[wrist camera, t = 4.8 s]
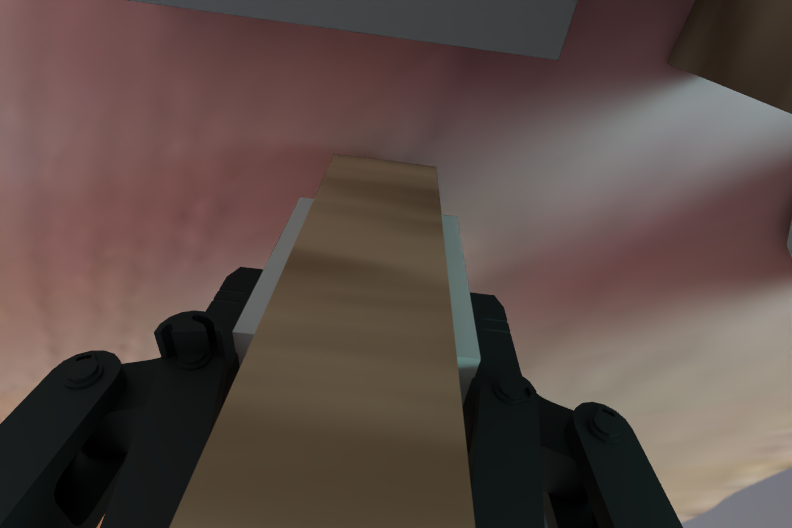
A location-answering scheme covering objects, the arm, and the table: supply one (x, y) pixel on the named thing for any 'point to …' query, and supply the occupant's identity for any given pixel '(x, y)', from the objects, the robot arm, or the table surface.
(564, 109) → the table surface
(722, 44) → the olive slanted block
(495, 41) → the socket
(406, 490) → the peg
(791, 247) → the supplement can
